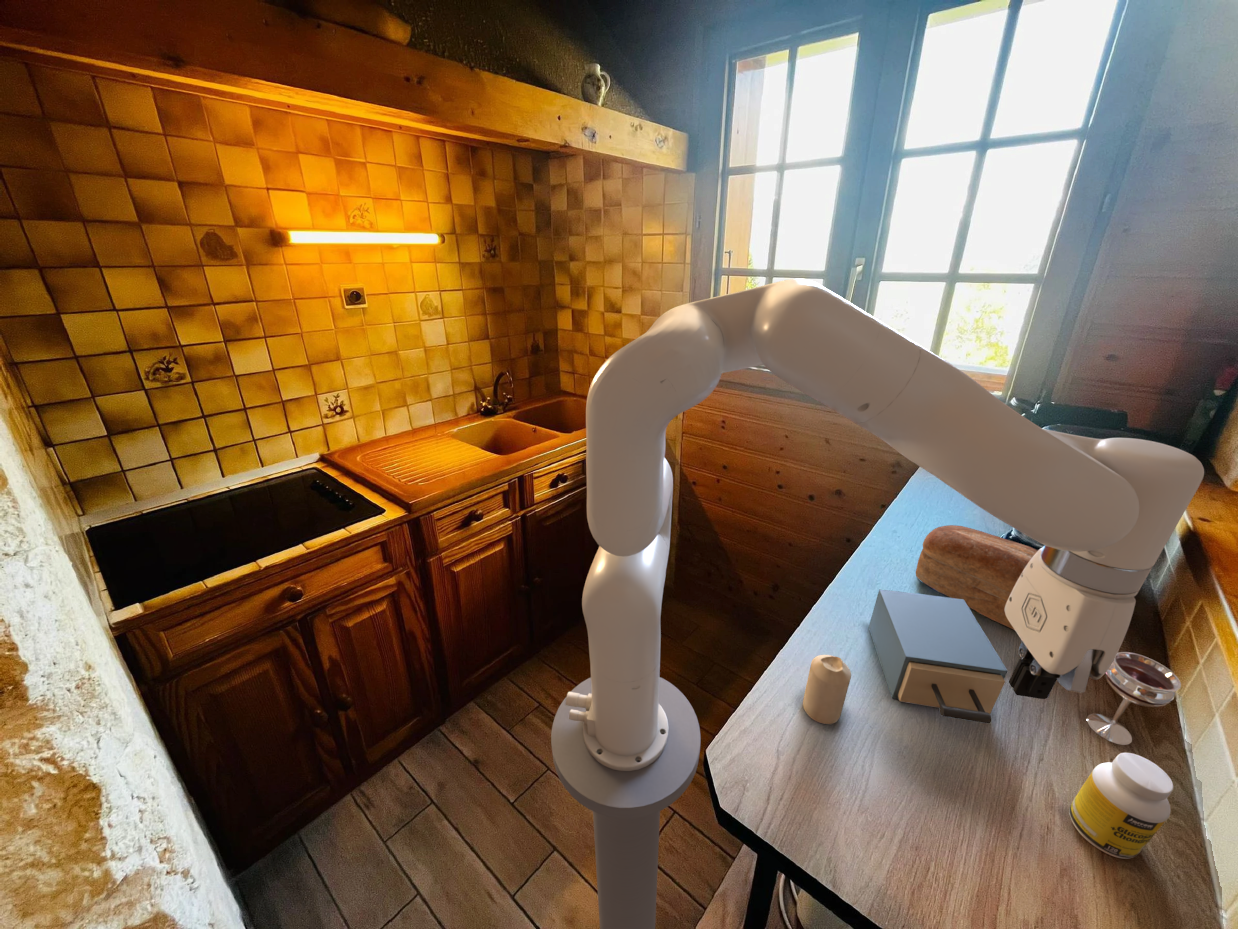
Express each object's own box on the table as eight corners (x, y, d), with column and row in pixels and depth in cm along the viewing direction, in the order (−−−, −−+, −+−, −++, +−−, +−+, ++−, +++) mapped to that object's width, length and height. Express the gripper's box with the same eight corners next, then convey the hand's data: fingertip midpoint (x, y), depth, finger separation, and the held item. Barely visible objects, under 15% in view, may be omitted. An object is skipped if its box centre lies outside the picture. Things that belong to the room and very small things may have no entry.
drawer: (1006, 748, 69) (1024, 713, 66) (910, 732, 71) (923, 697, 68) (951, 643, 86) (964, 611, 83) (876, 633, 88) (885, 602, 85)
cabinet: (988, 713, 75) (1008, 671, 71) (891, 698, 77) (905, 656, 73) (949, 638, 88) (964, 599, 84) (868, 627, 91) (879, 589, 87)
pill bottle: (1081, 850, 58) (1124, 791, 53) (1057, 796, 64) (1093, 738, 59) (1150, 870, 56) (1201, 811, 51) (1119, 812, 62) (1162, 754, 57)
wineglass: (1153, 743, 70) (1195, 685, 65) (1118, 756, 68) (1159, 697, 63) (1100, 704, 76) (1134, 647, 71) (1067, 714, 74) (1100, 657, 69)
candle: (822, 688, 79) (833, 643, 75) (848, 717, 74) (861, 670, 70) (794, 700, 77) (804, 654, 73) (820, 730, 73) (832, 682, 68)
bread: (930, 558, 110) (947, 506, 104) (1112, 643, 87) (1147, 583, 81) (903, 579, 103) (919, 525, 97) (1091, 676, 81) (1127, 614, 75)
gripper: (1011, 518, 55) (963, 638, 63) (1097, 608, 42) (1023, 746, 50) (1088, 525, 54) (1029, 647, 62) (1201, 621, 41) (1108, 760, 49)
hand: (1026, 691), depth 56 cm, fingers closed
